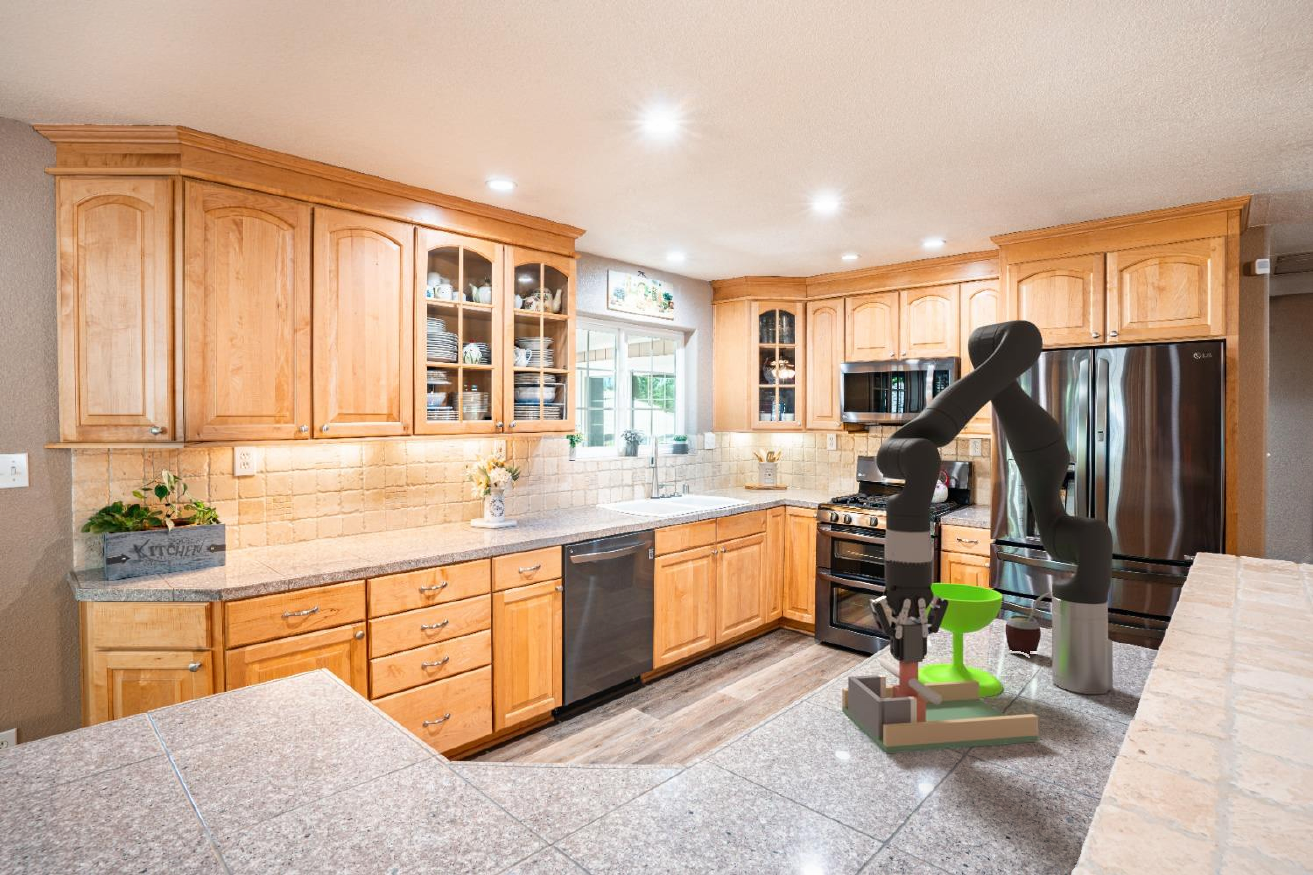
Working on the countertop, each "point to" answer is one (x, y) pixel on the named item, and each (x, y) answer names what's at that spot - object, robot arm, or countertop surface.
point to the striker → (911, 670)
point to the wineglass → (964, 615)
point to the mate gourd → (1024, 631)
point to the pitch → (932, 717)
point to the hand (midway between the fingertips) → (908, 657)
